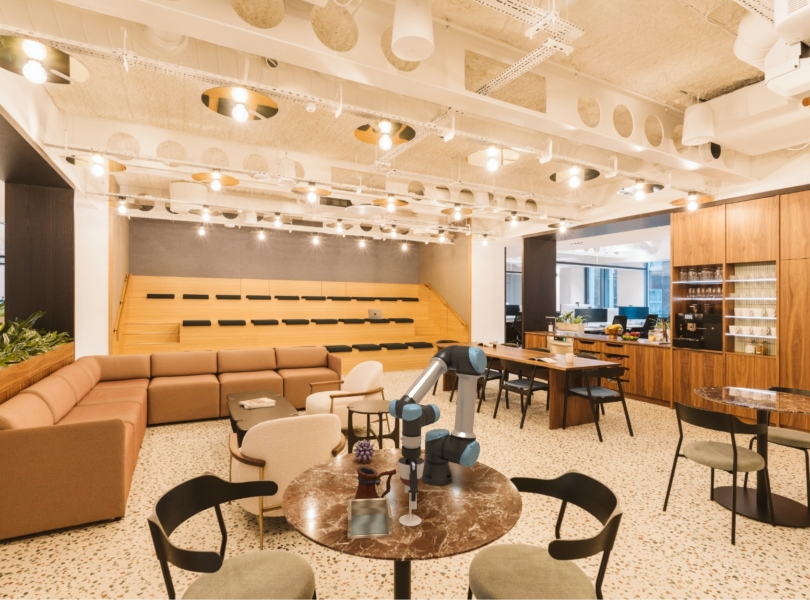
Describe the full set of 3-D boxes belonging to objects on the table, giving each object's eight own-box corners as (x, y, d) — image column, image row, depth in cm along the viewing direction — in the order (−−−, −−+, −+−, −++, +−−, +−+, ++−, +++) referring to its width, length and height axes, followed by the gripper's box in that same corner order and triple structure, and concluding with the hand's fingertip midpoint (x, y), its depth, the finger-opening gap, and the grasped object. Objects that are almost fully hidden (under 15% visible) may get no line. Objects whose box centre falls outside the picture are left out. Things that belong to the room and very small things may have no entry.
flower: (350, 465, 212) (350, 442, 212) (356, 457, 224) (357, 435, 224) (372, 467, 210) (372, 444, 210) (377, 458, 222) (377, 436, 222)
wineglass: (396, 514, 163) (397, 456, 164) (421, 513, 164) (422, 456, 164) (398, 526, 154) (399, 465, 155) (424, 526, 155) (425, 465, 155)
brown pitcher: (395, 497, 178) (396, 462, 178) (396, 510, 166) (397, 473, 167) (353, 498, 177) (354, 463, 177) (352, 511, 165) (352, 474, 165)
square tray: (388, 515, 163) (388, 497, 163) (392, 536, 148) (392, 517, 148) (347, 517, 161) (348, 499, 161) (347, 539, 146) (347, 519, 146)
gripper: (398, 435, 171) (397, 486, 171) (406, 457, 147) (404, 517, 146) (415, 435, 172) (414, 485, 172) (426, 456, 148) (425, 516, 147)
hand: (410, 500), depth 159 cm, fingers open, 13 cm apart
